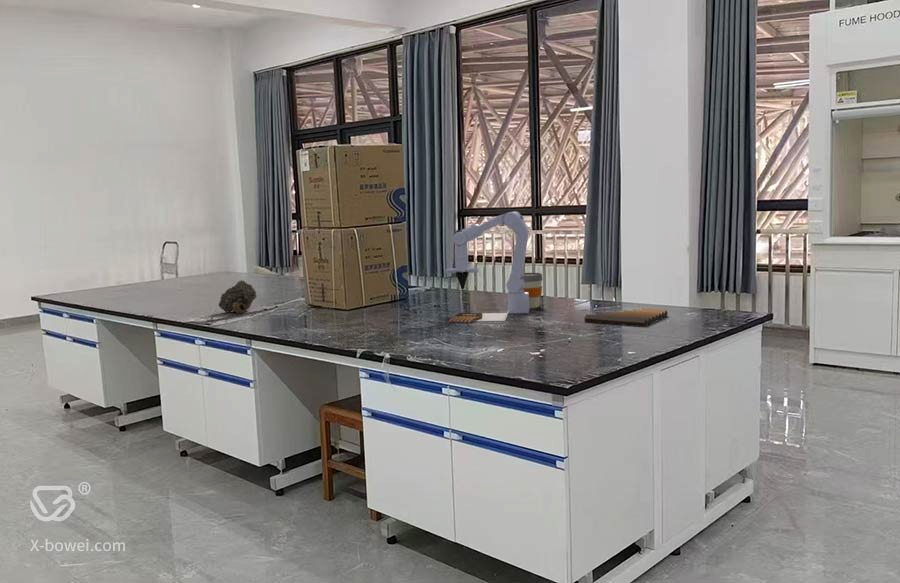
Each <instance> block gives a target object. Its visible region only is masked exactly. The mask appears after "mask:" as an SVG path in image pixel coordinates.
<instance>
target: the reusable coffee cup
mask: <svg viewBox="0 0 900 583" xmlns="http://www.w3.org/2000/svg"><path fill="white" fill-rule="evenodd" d="M523 273H524V281H525V285H524V287H523V290H524V292H528V293H529V305H530V309H536V308H539V307H540V301H541V297H542V291H543V285H542V284H543V283H542V281H543V274H542V273H541V272H523Z"/></svg>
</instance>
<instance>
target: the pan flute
mask: <svg viewBox="0 0 900 583" xmlns="http://www.w3.org/2000/svg"><path fill="white" fill-rule="evenodd" d="M665 316H667V317H668V311H667V309H656V308H655V309H654V308H641V309H632V310H623V311H614V312H604V313H595V314H585V315H584V318H583V319H584V323H592V322H602V323H601V324H605V323H614V324H613V325H618V324H625V325H624V326H631V325H639V326H638V327H643V326H645V327H647V326H648V325H647V324H649V325H651V324H653V323H652V322H654V321H656V320H658V321H660V320H662V319H661V318H663V317H664V318H666V317H665ZM664 318H663V319H664ZM659 319H660V320H659ZM656 322H657V321H656ZM650 323H651V324H650ZM654 323H655V322H654ZM646 325H647V326H646Z"/></svg>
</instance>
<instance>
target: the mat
mask: <svg viewBox="0 0 900 583" xmlns="http://www.w3.org/2000/svg"><path fill="white" fill-rule="evenodd" d="M481 313H482V318H481V319H479V320H475V321H474V322H476V323H477V322H505V321H506V319H507V318H508V315H509V314H508V313H507V312H493V313H492V312H490V313H489V312H485V313H483V312H481Z"/></svg>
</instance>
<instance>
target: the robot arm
mask: <svg viewBox="0 0 900 583" xmlns="http://www.w3.org/2000/svg"><path fill="white" fill-rule="evenodd" d="M499 225H501V226H506V227H508V228H509V229H511V230H512V231H513V233H514V234H515V235H516V237H515V238H516V239H515V244H514V245H515V246H514V253H513V257H512V268H511V270H510V274H509V278H508V280H507V282H506V284H505V285H506V286H505V287H506V289H507V311H506V313H508V315H510V314H529V313H530V309H531V308H530V305H529V293H528V292H524V290H523V287H524V285H525V281H524V273H525V272H524V265H525V260H526V253H527V246H528V238H529V232H530V231H529V228H528V226H527V224H526V221H525V217H524V216H523V215H522V214H521V213H520V212H518V211H514V210H513V211H509V212H506V213H504V214H500V215H497V216H495V217H493V218H490V220H487V221H485V222H483V223H482V224H478V223H471V225H470V226H469V227H467V228H462V229H461V231H457V232H456V233H454V234H453V236H452V241H453V244H454V259H455V260H454V261H455V262H454V264H455V268H446V269H445V274H455V277H456V278H457V280H458V282H459V286H460V289H461V290H465V288H466V286H465V285H466V281H467V278H468V276H469V273H477V274H478V273H479V267H469V255H468V254H469V253H468V252H469V250H468V248H469V247H468V242H471V241H473V240H475V239H478V238H480V237H482V236H483V234H484V232H486V231H487V230H489V229H491V228H492V229H493V228H494V227H496V226H499Z"/></svg>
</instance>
